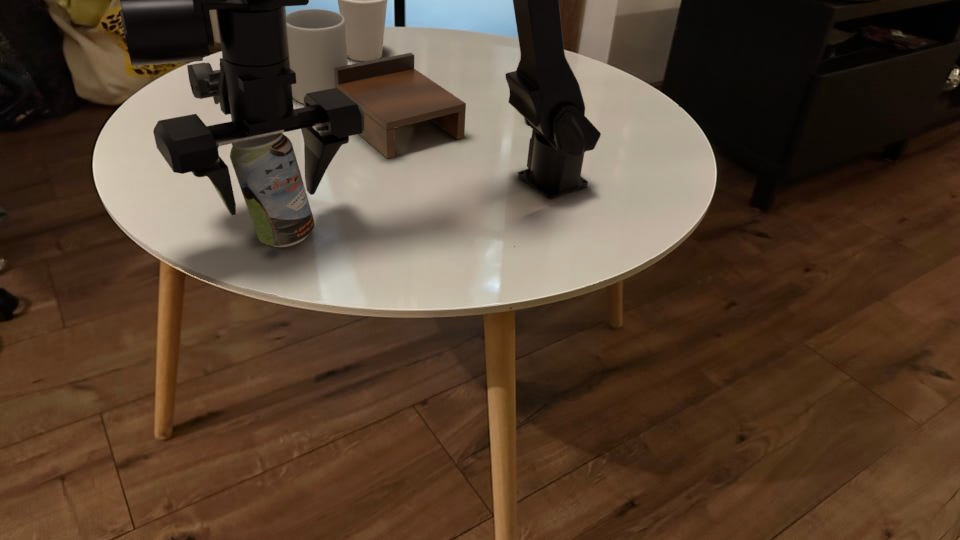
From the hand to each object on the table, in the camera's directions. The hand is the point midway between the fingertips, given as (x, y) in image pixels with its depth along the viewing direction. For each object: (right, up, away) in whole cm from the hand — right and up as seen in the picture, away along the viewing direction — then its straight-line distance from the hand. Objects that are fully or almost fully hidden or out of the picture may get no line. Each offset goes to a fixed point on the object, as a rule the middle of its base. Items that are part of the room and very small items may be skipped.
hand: (272, 202), depth 71 cm
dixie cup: (+2, +29, +44) cm, 52 cm away
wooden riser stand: (+10, +13, +24) cm, 29 cm away
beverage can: (0, -4, +3) cm, 5 cm away
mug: (-4, +19, +31) cm, 37 cm away
